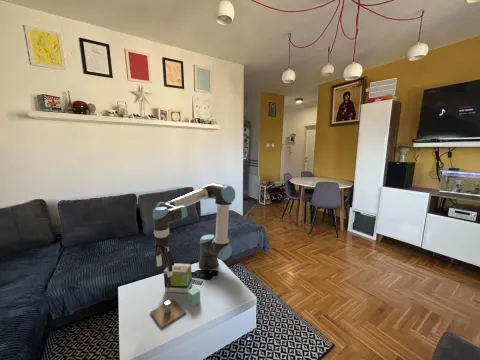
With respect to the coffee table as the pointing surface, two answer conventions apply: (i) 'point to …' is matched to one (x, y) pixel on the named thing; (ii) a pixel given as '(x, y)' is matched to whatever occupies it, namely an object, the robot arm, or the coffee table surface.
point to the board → (165, 318)
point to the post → (167, 307)
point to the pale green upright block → (193, 296)
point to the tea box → (178, 278)
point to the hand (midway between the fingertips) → (164, 270)
